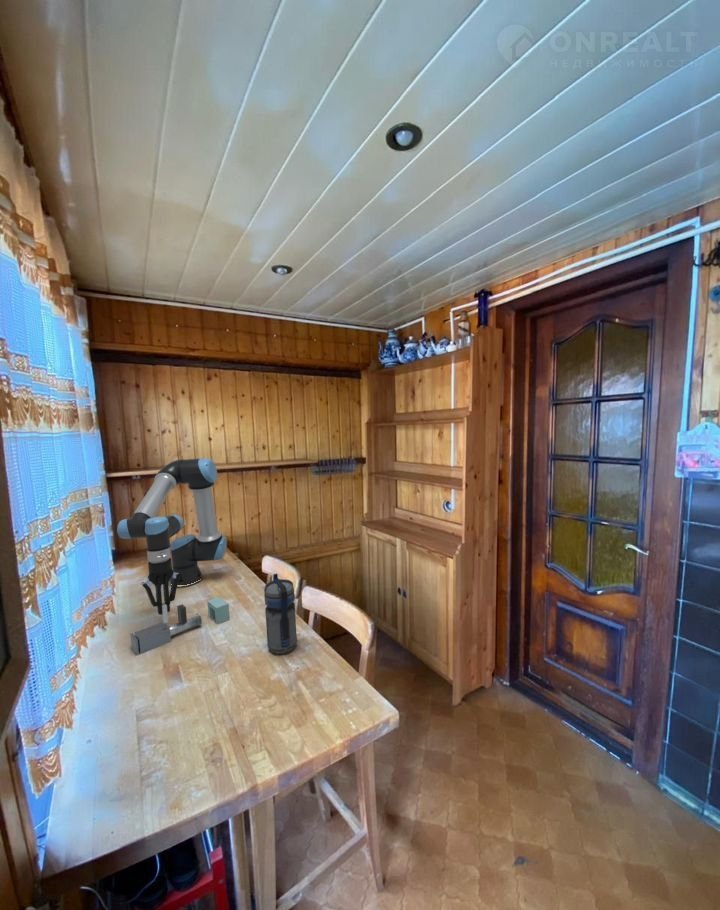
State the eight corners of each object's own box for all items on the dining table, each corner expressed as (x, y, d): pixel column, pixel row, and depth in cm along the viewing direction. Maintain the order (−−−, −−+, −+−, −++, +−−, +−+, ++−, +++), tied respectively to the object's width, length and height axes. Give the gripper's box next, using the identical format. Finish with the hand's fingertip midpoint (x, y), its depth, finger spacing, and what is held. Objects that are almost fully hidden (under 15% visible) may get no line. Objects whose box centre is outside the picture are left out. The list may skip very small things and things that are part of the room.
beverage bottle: (273, 663, 123) (268, 589, 121) (264, 643, 134) (260, 575, 133) (302, 654, 127) (299, 582, 125) (292, 635, 139) (288, 569, 137)
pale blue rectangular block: (217, 624, 149) (216, 608, 148) (208, 616, 155) (207, 601, 155) (229, 619, 152) (228, 603, 152) (220, 612, 159) (219, 596, 158)
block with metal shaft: (139, 650, 132) (136, 624, 131) (136, 646, 134) (134, 620, 134) (202, 625, 147) (200, 602, 146) (198, 622, 150) (196, 599, 149)
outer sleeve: (136, 655, 130) (135, 641, 130) (131, 647, 135) (130, 633, 134) (171, 641, 138) (169, 627, 137) (165, 634, 142) (164, 621, 142)
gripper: (142, 567, 130) (148, 632, 132) (181, 557, 139) (186, 618, 141) (136, 562, 135) (142, 624, 137) (175, 552, 144) (179, 611, 146)
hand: (164, 621), depth 139 cm, fingers closed
